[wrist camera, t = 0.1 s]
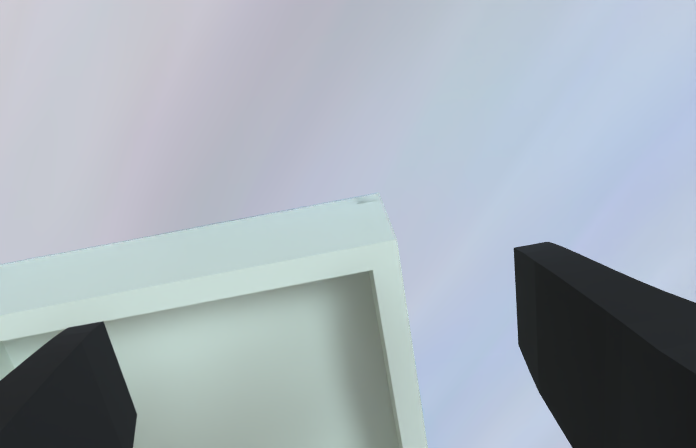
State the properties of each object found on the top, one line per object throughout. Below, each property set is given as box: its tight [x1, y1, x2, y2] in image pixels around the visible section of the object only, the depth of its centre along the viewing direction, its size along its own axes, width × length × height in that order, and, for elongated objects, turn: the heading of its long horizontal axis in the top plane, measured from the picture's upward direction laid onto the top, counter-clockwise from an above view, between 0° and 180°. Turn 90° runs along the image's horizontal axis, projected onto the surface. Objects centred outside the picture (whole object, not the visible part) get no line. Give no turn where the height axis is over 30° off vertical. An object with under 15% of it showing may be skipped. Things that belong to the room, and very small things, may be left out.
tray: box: [0, 193, 428, 448], centre depth 22 cm, size 14×14×4 cm
